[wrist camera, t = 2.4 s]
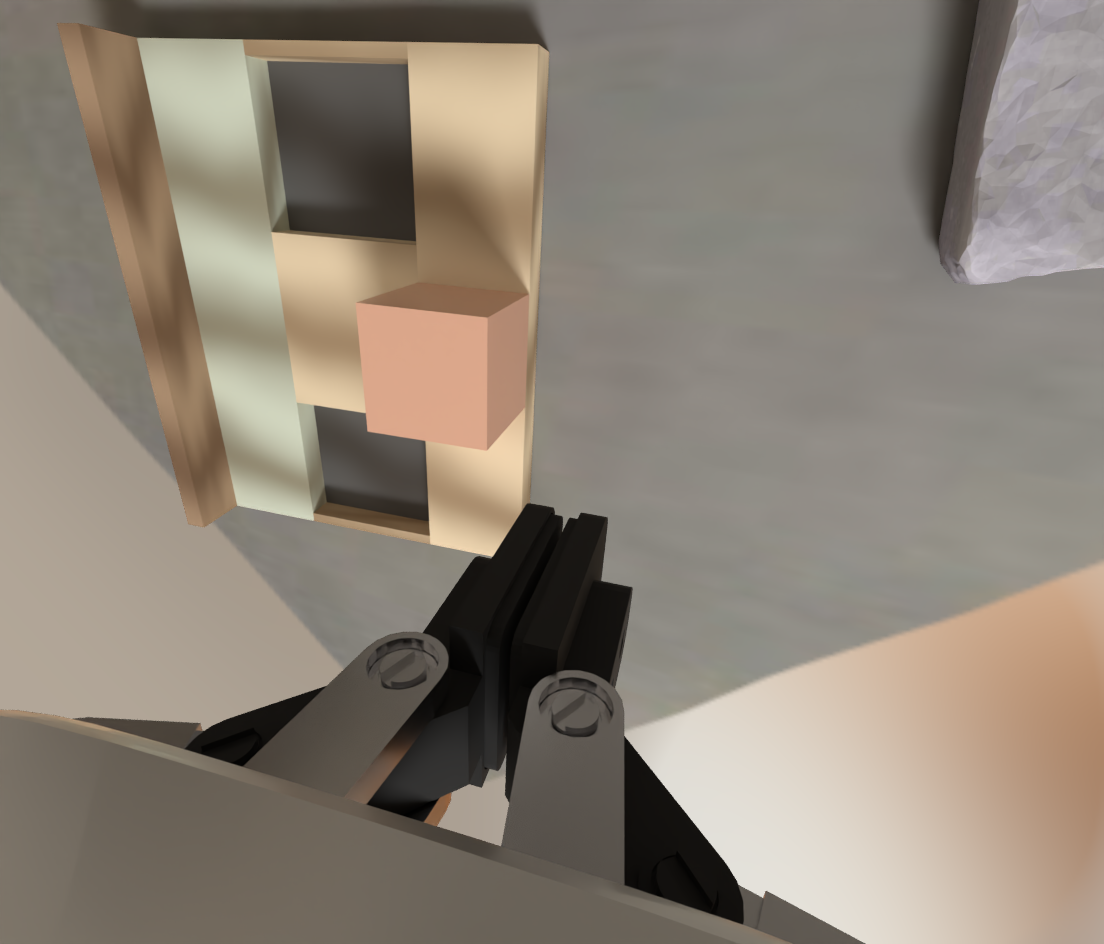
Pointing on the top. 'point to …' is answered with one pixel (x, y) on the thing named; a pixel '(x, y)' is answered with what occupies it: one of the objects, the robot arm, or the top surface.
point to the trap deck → (315, 256)
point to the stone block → (1029, 145)
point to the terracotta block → (444, 362)
